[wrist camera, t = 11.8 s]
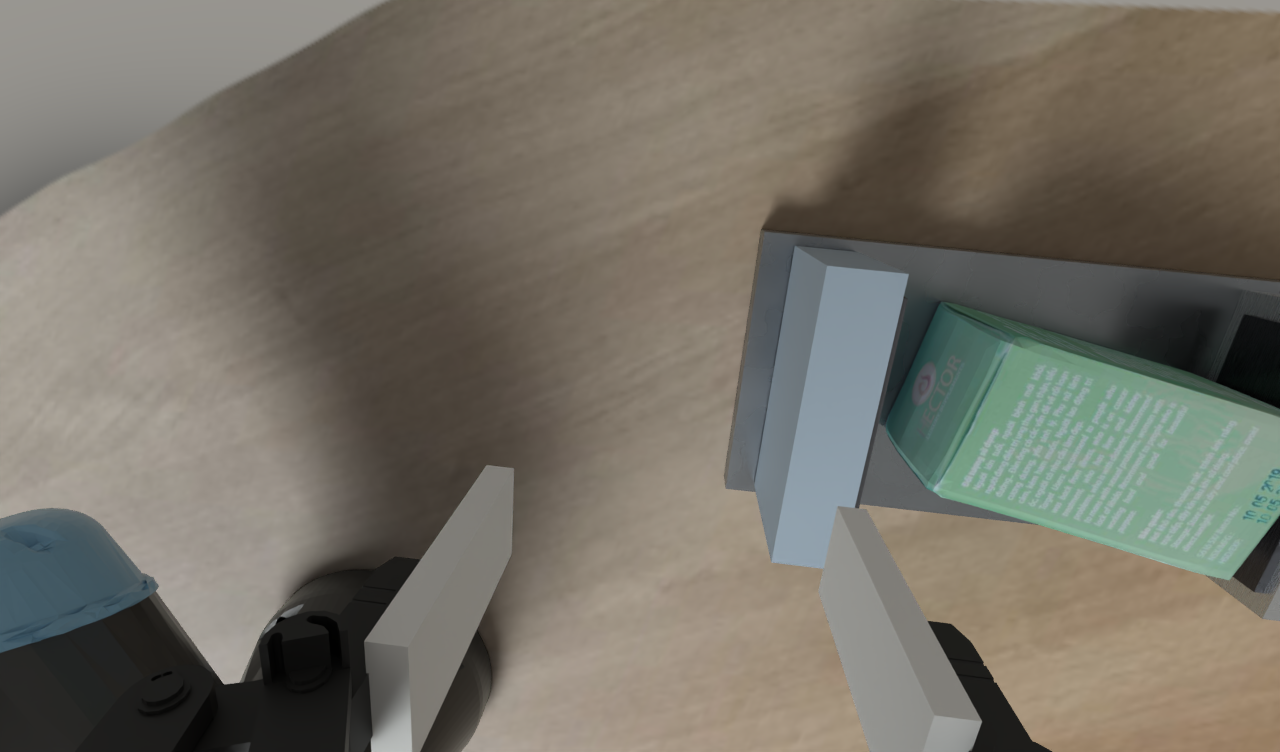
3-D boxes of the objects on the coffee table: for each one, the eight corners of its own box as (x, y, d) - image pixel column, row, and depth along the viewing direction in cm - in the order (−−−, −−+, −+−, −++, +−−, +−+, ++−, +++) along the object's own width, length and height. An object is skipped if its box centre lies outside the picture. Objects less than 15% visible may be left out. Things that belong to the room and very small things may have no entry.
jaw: (754, 485, 33) (771, 562, 26) (794, 245, 29) (827, 265, 22) (816, 492, 33) (849, 571, 26) (866, 252, 29) (920, 275, 22)
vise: (724, 475, 35) (735, 565, 27) (761, 229, 30) (787, 247, 22) (1185, 528, 34) (1342, 638, 26) (1294, 281, 29) (1523, 320, 21)
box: (932, 294, 29) (1010, 333, 22) (1193, 370, 30) (1353, 433, 23) (873, 427, 32) (927, 500, 25) (1115, 496, 32) (1237, 588, 25)
